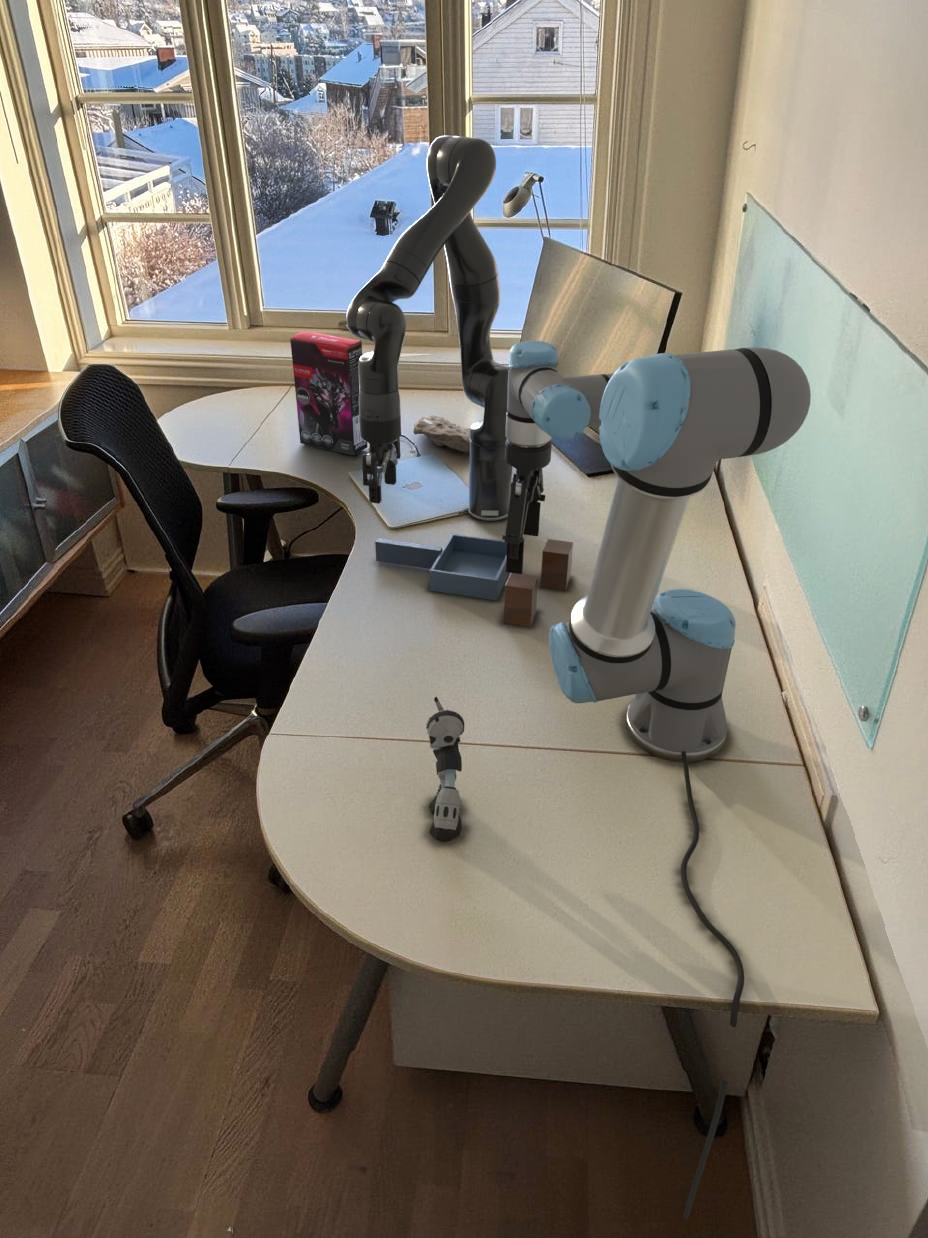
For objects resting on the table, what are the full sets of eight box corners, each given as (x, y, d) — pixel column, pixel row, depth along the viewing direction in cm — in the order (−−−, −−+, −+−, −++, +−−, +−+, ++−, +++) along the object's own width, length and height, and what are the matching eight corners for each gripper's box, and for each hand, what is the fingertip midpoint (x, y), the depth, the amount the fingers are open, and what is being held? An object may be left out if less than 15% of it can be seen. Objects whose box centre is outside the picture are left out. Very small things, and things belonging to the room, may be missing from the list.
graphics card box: (297, 444, 233) (287, 336, 218) (313, 435, 239) (304, 329, 223) (354, 457, 227) (347, 347, 212) (369, 447, 232) (364, 339, 217)
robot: (467, 874, 119) (468, 759, 108) (429, 876, 119) (427, 760, 108) (460, 769, 135) (460, 659, 124) (426, 770, 135) (424, 660, 124)
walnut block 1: (530, 627, 166) (532, 589, 162) (503, 623, 168) (504, 585, 163) (535, 612, 170) (538, 575, 166) (509, 608, 172) (511, 571, 167)
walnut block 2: (565, 590, 177) (568, 554, 172) (540, 587, 178) (542, 551, 173) (570, 577, 181) (573, 542, 176) (545, 574, 182) (547, 538, 177)
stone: (397, 439, 228) (402, 416, 226) (416, 430, 242) (421, 408, 239) (477, 464, 225) (483, 440, 222) (491, 454, 238) (497, 431, 236)
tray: (496, 600, 174) (497, 578, 171) (364, 580, 179) (362, 558, 177) (514, 561, 186) (515, 539, 183) (389, 543, 192) (388, 522, 189)
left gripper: (386, 428, 161) (389, 511, 170) (411, 400, 172) (413, 479, 181) (346, 423, 163) (351, 506, 172) (373, 396, 174) (377, 475, 183)
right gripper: (535, 474, 139) (528, 592, 151) (565, 413, 159) (557, 522, 171) (487, 468, 140) (484, 585, 152) (522, 409, 160) (517, 517, 172)
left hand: (383, 492), depth 176 cm, fingers open, 8 cm apart
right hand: (522, 552), depth 162 cm, fingers open, 13 cm apart
